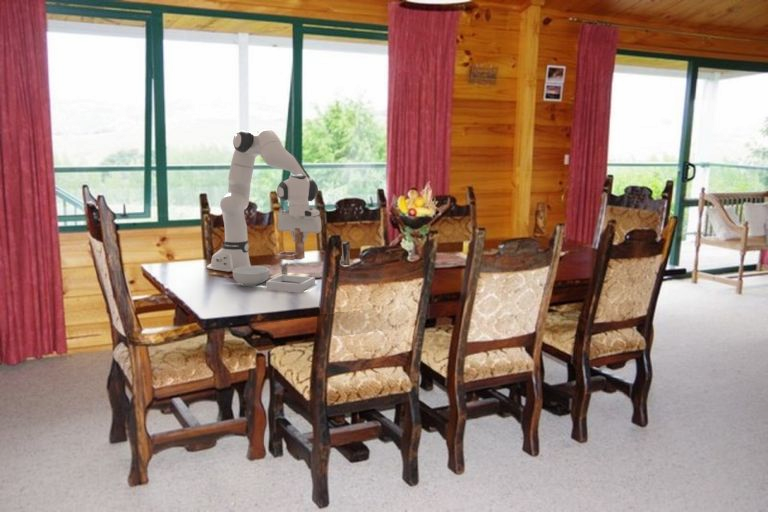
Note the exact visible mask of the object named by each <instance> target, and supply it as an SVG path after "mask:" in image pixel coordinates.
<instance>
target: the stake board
mask: <svg viewBox="0 0 768 512" xmlns="http://www.w3.org/2000/svg"><path fill="white" fill-rule="evenodd" d="M288 266H289V264H288V262H285V263H282V264H280V269H281V271H280V272H277V273H276V274H274V275H271V276H269V277H268V279H269V278H271V279H272V278H275V277H277V276H279V275H282V274H283V275H294V276H305V277H310V276H311V274H309V273H300V272H299V273H297V272H288Z"/></svg>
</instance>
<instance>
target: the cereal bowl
mask: <svg viewBox="0 0 768 512" xmlns="http://www.w3.org/2000/svg"><path fill="white" fill-rule="evenodd" d="M269 277H270V268H269V267H267V266H264V265H251V266H243V267H238V268H235V269H233V271H232V278H233V279H234V281H235V282H236V283H238V284H241V285H243V286H244V287H256V286H258V285H260V284H262V283H264V282H266V281H268V280H269Z"/></svg>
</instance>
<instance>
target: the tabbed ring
mask: <svg viewBox="0 0 768 512" xmlns="http://www.w3.org/2000/svg"><path fill="white" fill-rule="evenodd" d="M303 237H304V235H303V232H300V228H295V242H294V243H295V244H294V245H295V246H294V247H295V249H294V250H295V251H291V250H289V251H288V250H283V251H279V252H278V253H276V254H274V259H275V260H282V261H283V260H286V261H294V260H303V259H305V258H306V257H305V254H306V253H305V242H301V241H302V240H301V238H303Z"/></svg>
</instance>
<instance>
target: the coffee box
mask: <svg viewBox="0 0 768 512" xmlns="http://www.w3.org/2000/svg"><path fill="white" fill-rule="evenodd" d="M341 241H342V256H341V264H342V265H351V264H350V262H351V261H350V251H351V250H350V241H349V240H348V241H344V240H341Z"/></svg>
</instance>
